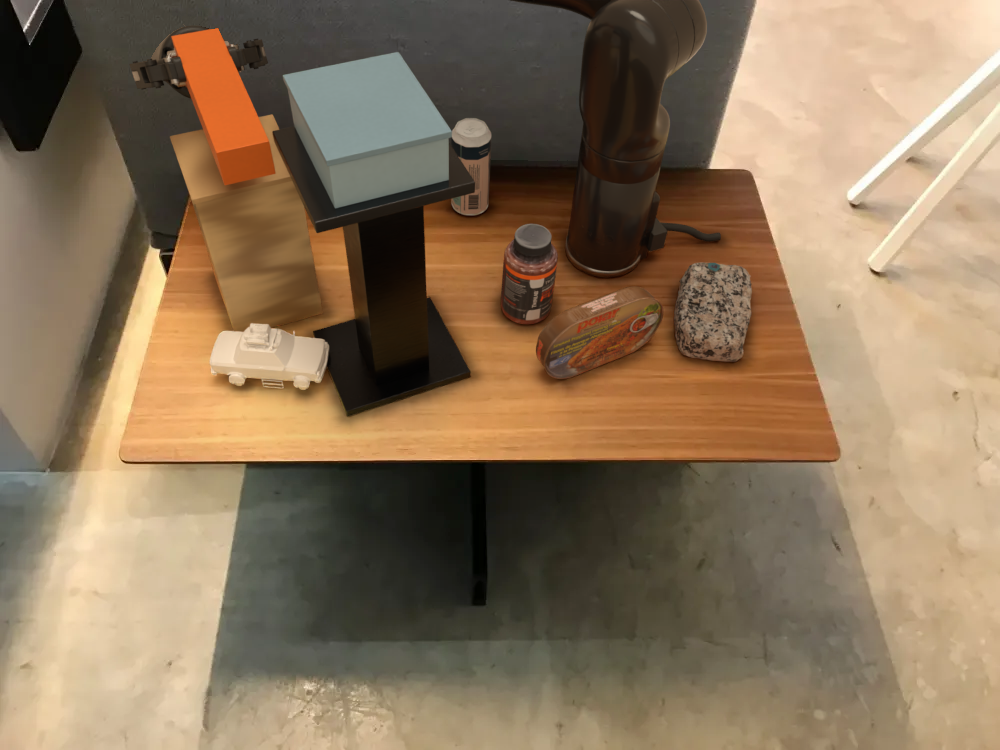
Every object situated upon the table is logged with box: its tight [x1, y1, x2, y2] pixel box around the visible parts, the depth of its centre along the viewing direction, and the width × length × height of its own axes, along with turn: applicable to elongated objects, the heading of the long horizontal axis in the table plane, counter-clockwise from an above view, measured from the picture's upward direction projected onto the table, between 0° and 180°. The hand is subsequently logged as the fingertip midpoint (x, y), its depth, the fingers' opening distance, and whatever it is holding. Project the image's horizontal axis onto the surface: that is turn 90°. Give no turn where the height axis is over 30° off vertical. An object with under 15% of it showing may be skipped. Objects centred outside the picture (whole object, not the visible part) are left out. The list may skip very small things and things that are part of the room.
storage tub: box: [282, 51, 452, 208], centre depth 72 cm, size 10×12×5 cm
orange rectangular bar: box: [171, 28, 276, 185], centre depth 79 cm, size 4×19×4 cm, turn 24°
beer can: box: [450, 117, 492, 216], centre depth 106 cm, size 5×5×12 cm
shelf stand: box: [272, 125, 475, 418], centre depth 84 cm, size 14×13×27 cm
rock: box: [673, 261, 753, 363], centre depth 98 cm, size 13×9×4 cm
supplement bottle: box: [500, 223, 559, 325], centre depth 95 cm, size 6×6×11 cm
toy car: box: [209, 323, 329, 391], centre depth 90 cm, size 6×12×7 cm, turn 87°
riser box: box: [169, 114, 324, 332], centre depth 92 cm, size 10×10×20 cm
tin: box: [535, 285, 664, 380], centre depth 93 cm, size 15×3×8 cm, turn 117°
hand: (208, 64), depth 80 cm, fingers closed on orange rectangular bar, 4 cm apart
